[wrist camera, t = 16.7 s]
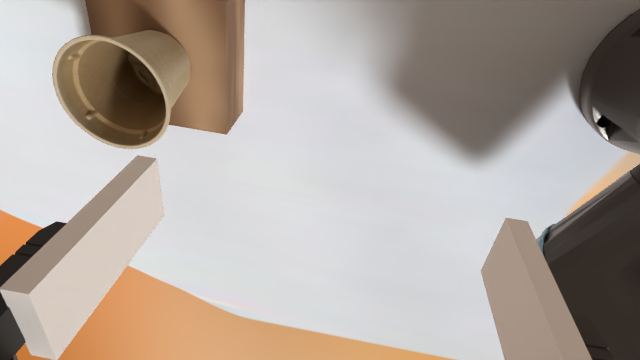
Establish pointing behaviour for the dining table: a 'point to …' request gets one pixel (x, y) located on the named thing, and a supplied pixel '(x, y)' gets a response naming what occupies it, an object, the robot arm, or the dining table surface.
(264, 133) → the dining table surface
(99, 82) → the flower pot
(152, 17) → the walnut block
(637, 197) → the robot arm
